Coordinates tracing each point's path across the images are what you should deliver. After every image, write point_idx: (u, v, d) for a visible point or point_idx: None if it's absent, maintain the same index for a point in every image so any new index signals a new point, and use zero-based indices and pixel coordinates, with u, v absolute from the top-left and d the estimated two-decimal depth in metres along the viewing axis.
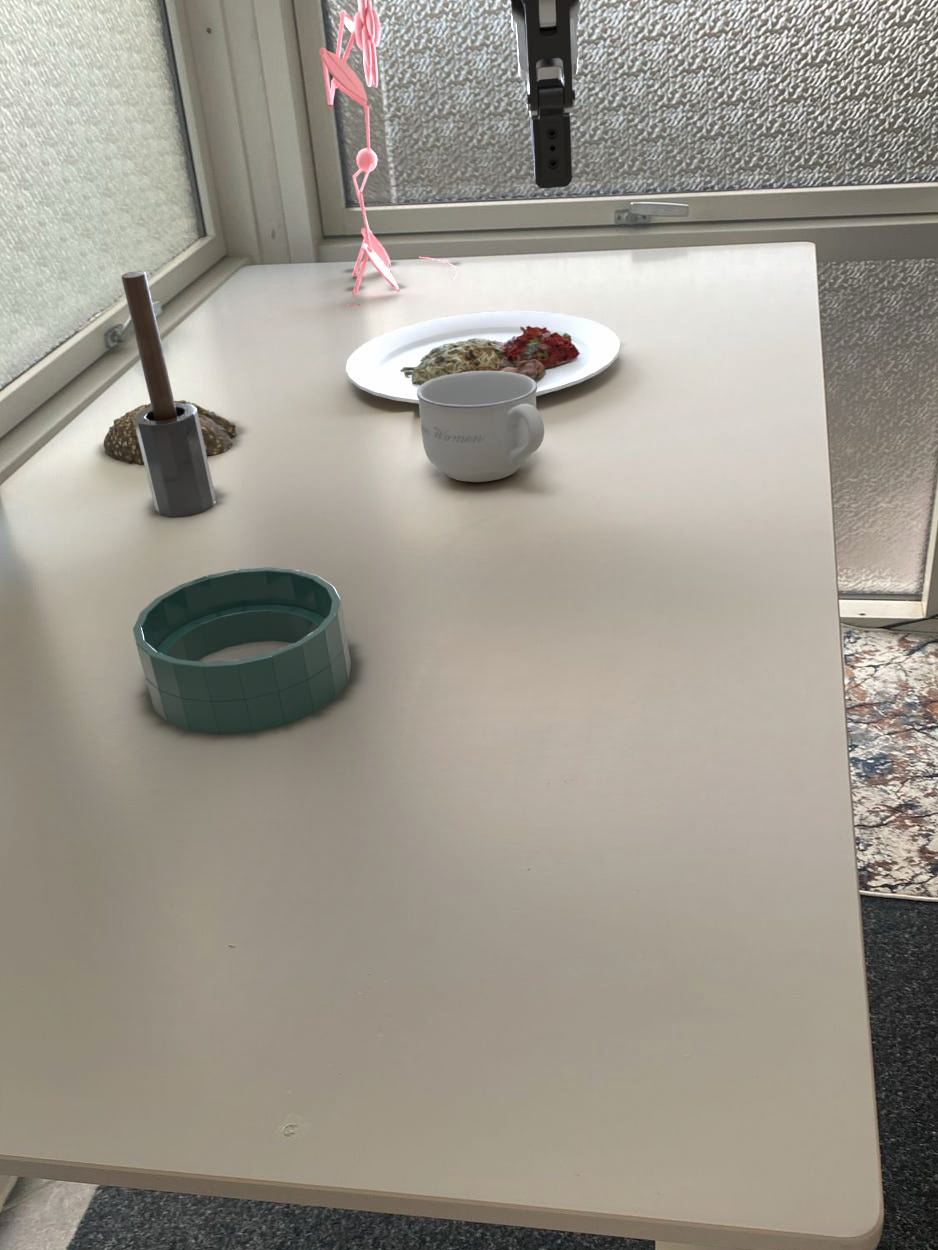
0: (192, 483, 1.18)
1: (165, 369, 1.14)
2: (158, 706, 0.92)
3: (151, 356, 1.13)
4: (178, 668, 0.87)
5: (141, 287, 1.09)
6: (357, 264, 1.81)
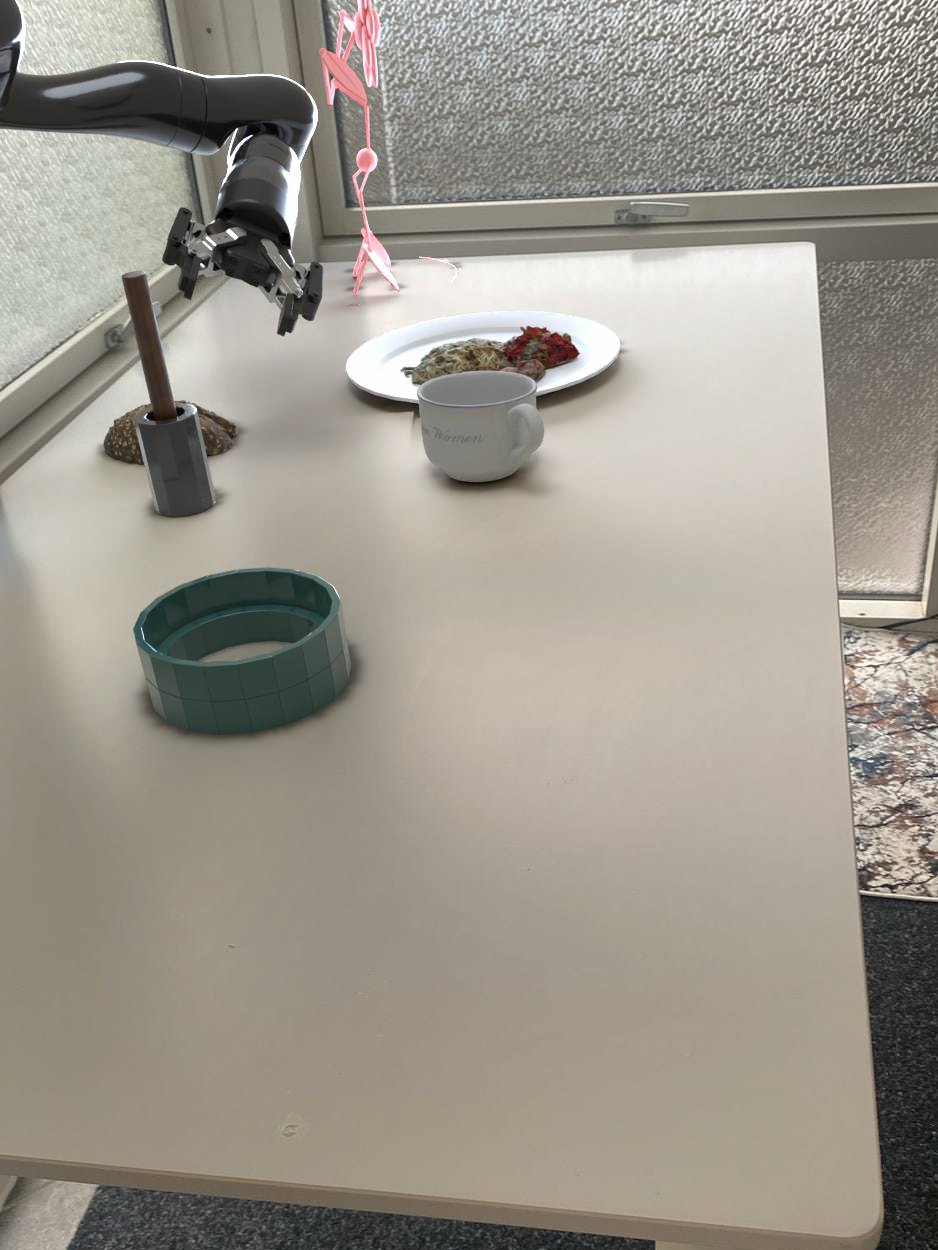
0: (192, 483, 1.18)
1: (165, 369, 1.14)
2: (158, 706, 0.92)
3: (151, 356, 1.13)
4: (178, 668, 0.87)
5: (141, 287, 1.09)
6: (357, 264, 1.81)
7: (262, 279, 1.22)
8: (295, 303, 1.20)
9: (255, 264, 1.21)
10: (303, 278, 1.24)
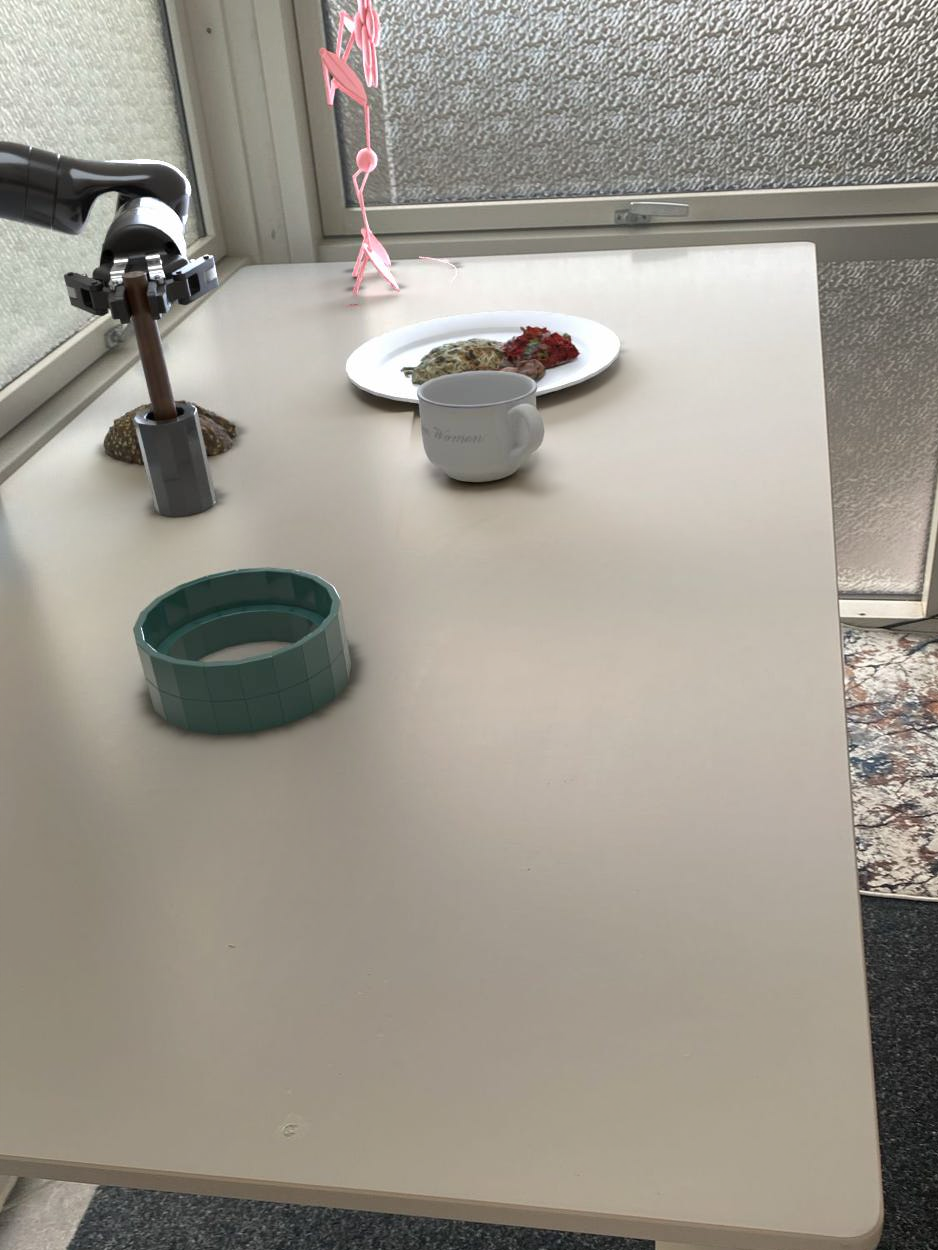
0: (192, 483, 1.18)
1: (165, 369, 1.14)
2: (158, 706, 0.92)
3: (152, 356, 1.13)
4: (178, 668, 0.87)
5: (141, 287, 1.09)
6: (357, 264, 1.81)
7: None
8: (160, 287, 1.11)
9: (146, 272, 1.14)
10: None
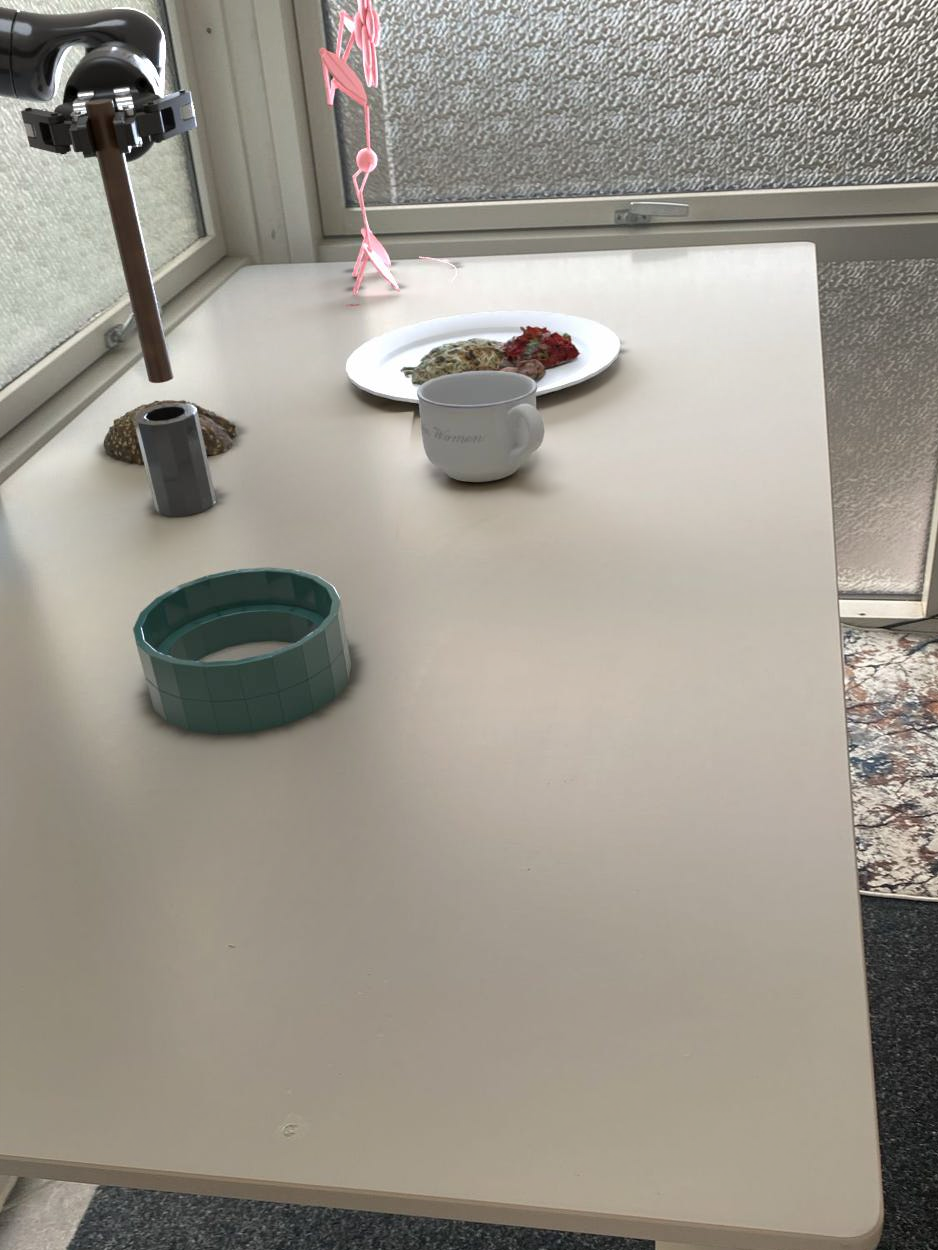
0: (192, 483, 1.18)
1: (136, 216, 1.01)
2: (158, 706, 0.92)
3: (120, 199, 0.99)
4: (178, 668, 0.87)
5: (107, 115, 0.96)
6: (357, 264, 1.81)
7: None
8: (129, 118, 0.97)
9: (114, 106, 1.00)
10: None
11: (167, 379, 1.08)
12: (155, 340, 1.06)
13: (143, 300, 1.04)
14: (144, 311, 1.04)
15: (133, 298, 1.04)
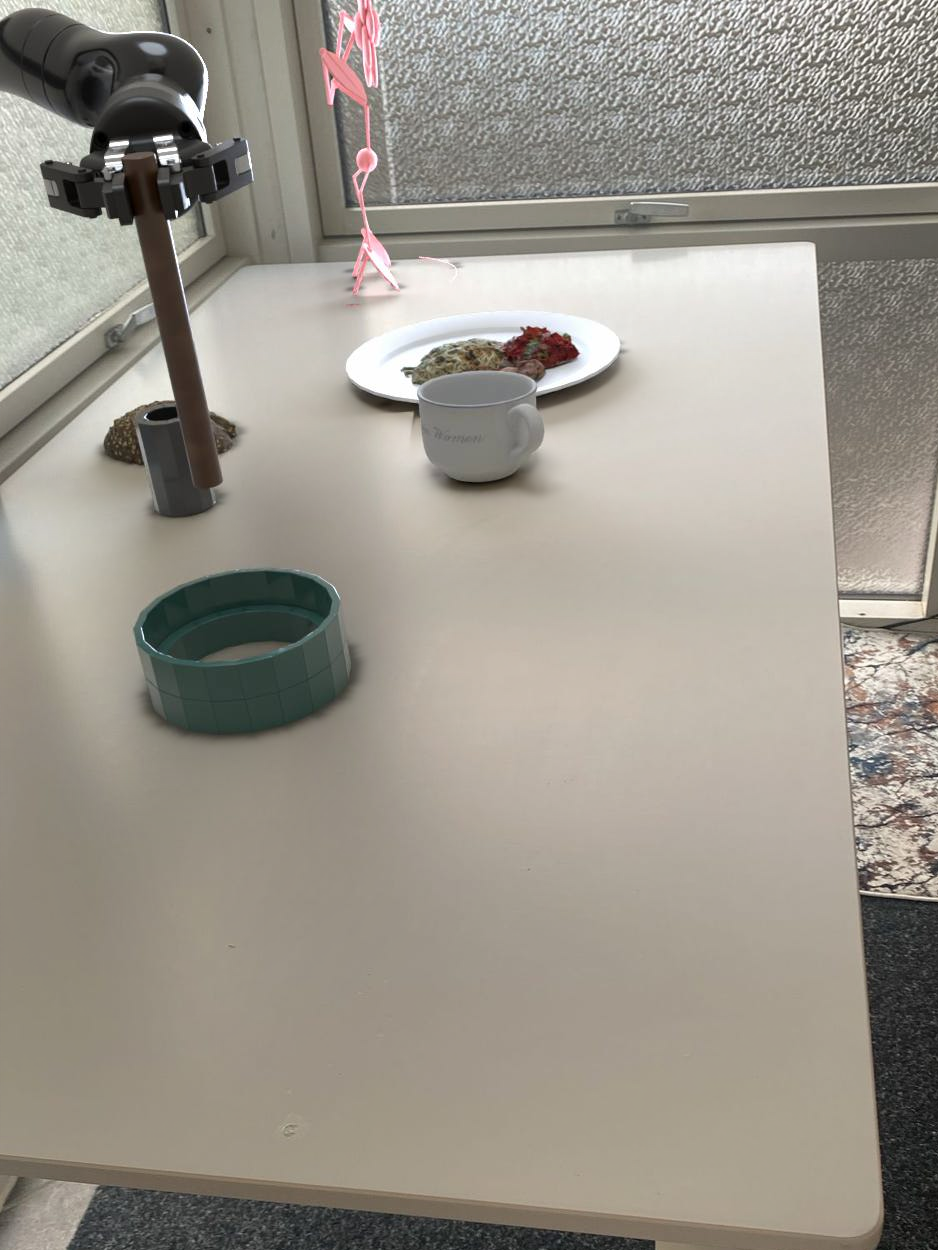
0: (192, 483, 1.18)
1: (182, 293, 0.82)
2: (158, 706, 0.92)
3: (163, 274, 0.81)
4: (178, 668, 0.87)
5: (148, 173, 0.78)
6: (357, 264, 1.81)
7: None
8: (175, 175, 0.79)
9: None
10: None
11: (216, 484, 0.89)
12: (202, 440, 0.87)
13: (189, 392, 0.85)
14: (190, 406, 0.86)
15: (177, 390, 0.85)
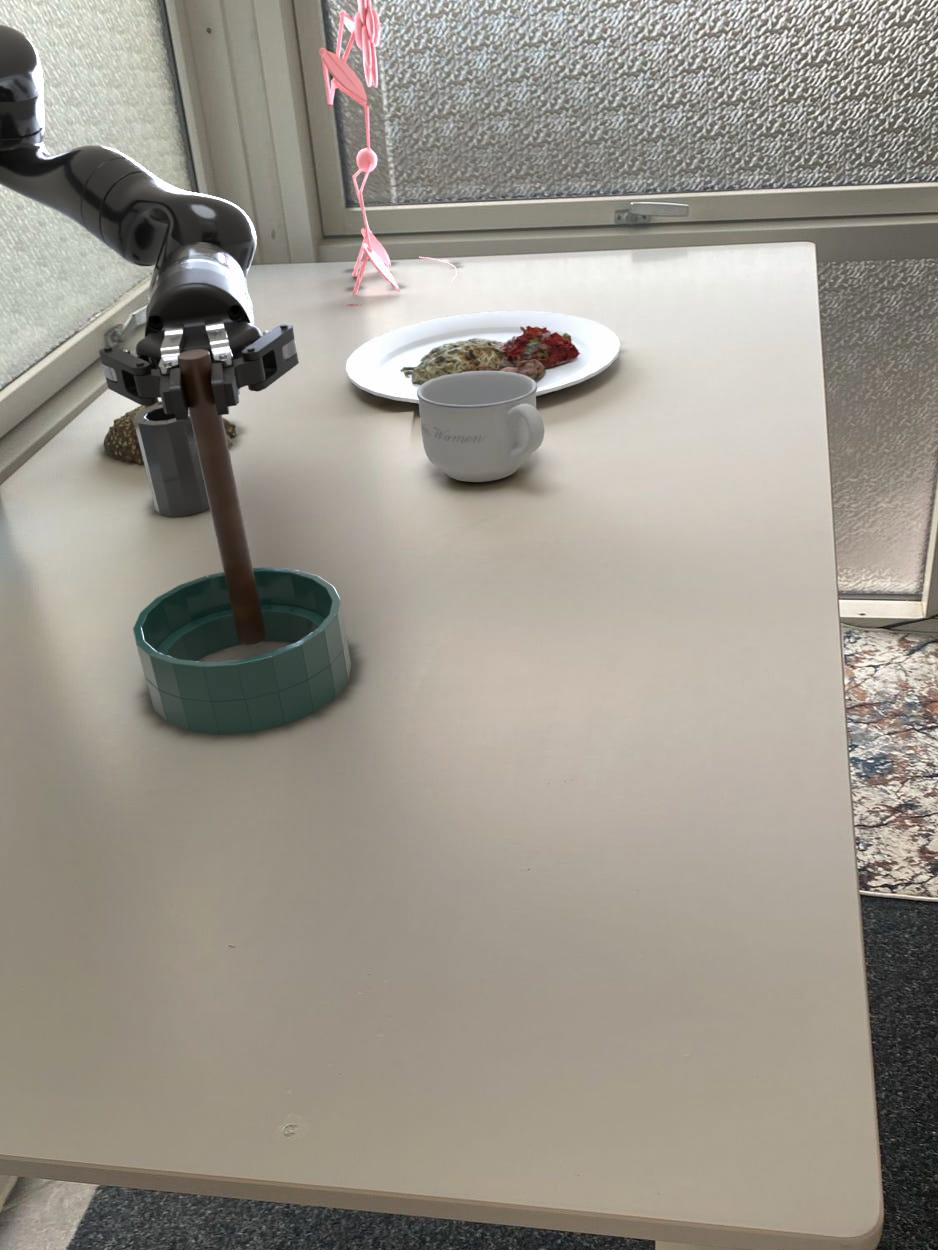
0: (192, 483, 1.18)
1: (231, 474, 0.88)
2: (158, 706, 0.92)
3: (214, 458, 0.86)
4: (178, 668, 0.87)
5: (203, 371, 0.83)
6: (357, 264, 1.81)
7: None
8: (227, 370, 0.84)
9: (207, 348, 0.87)
10: None
11: (260, 640, 0.95)
12: (248, 602, 0.93)
13: (236, 561, 0.91)
14: (237, 573, 0.91)
15: (225, 558, 0.91)
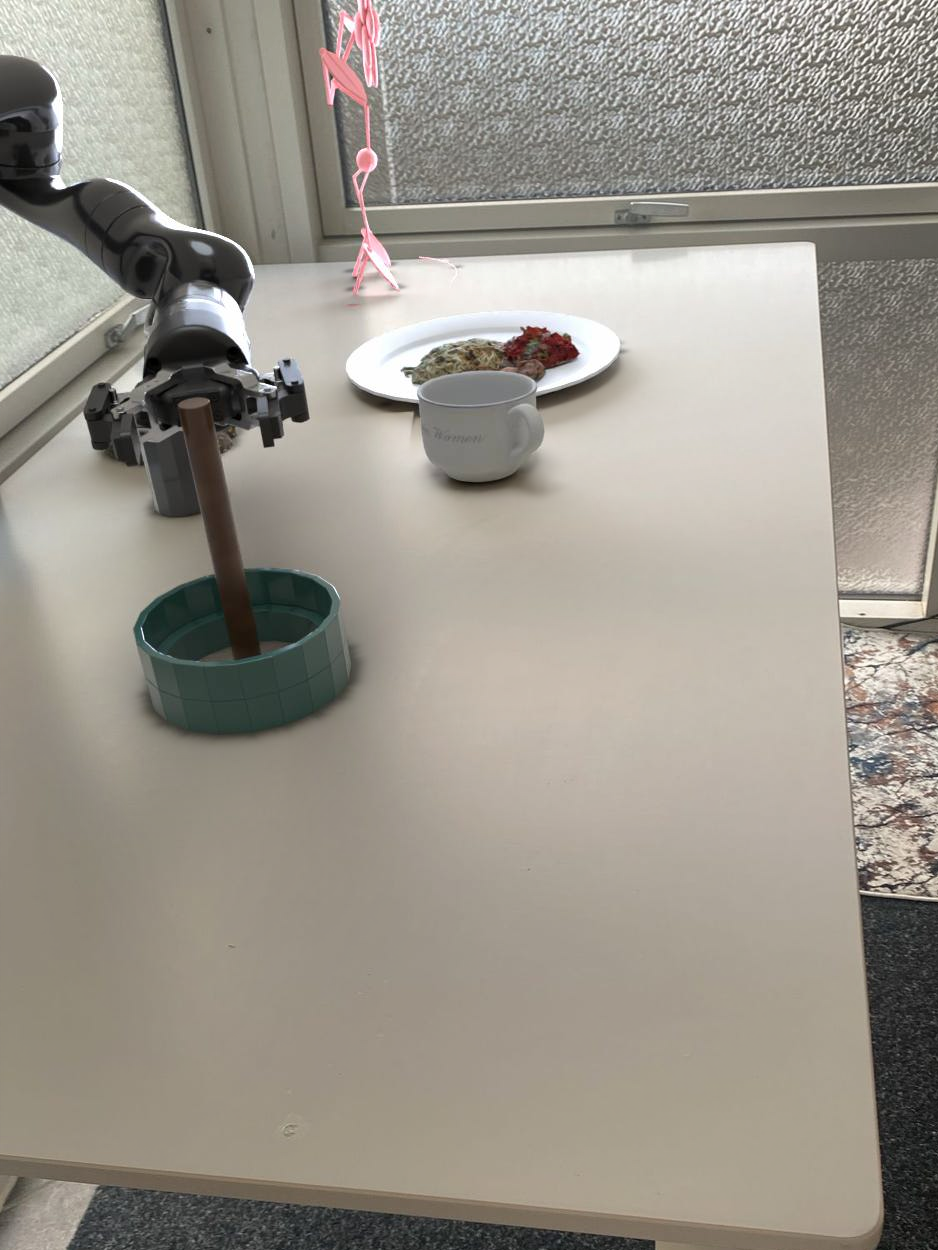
0: (192, 483, 1.18)
1: (232, 520, 0.88)
2: (158, 706, 0.92)
3: (215, 505, 0.86)
4: (178, 668, 0.87)
5: (203, 420, 0.83)
6: (357, 264, 1.81)
7: (224, 406, 0.88)
8: (271, 403, 0.85)
9: (206, 391, 0.87)
10: (275, 381, 0.89)
11: None
12: (248, 646, 0.93)
13: (237, 605, 0.91)
14: (238, 617, 0.91)
15: (225, 603, 0.91)
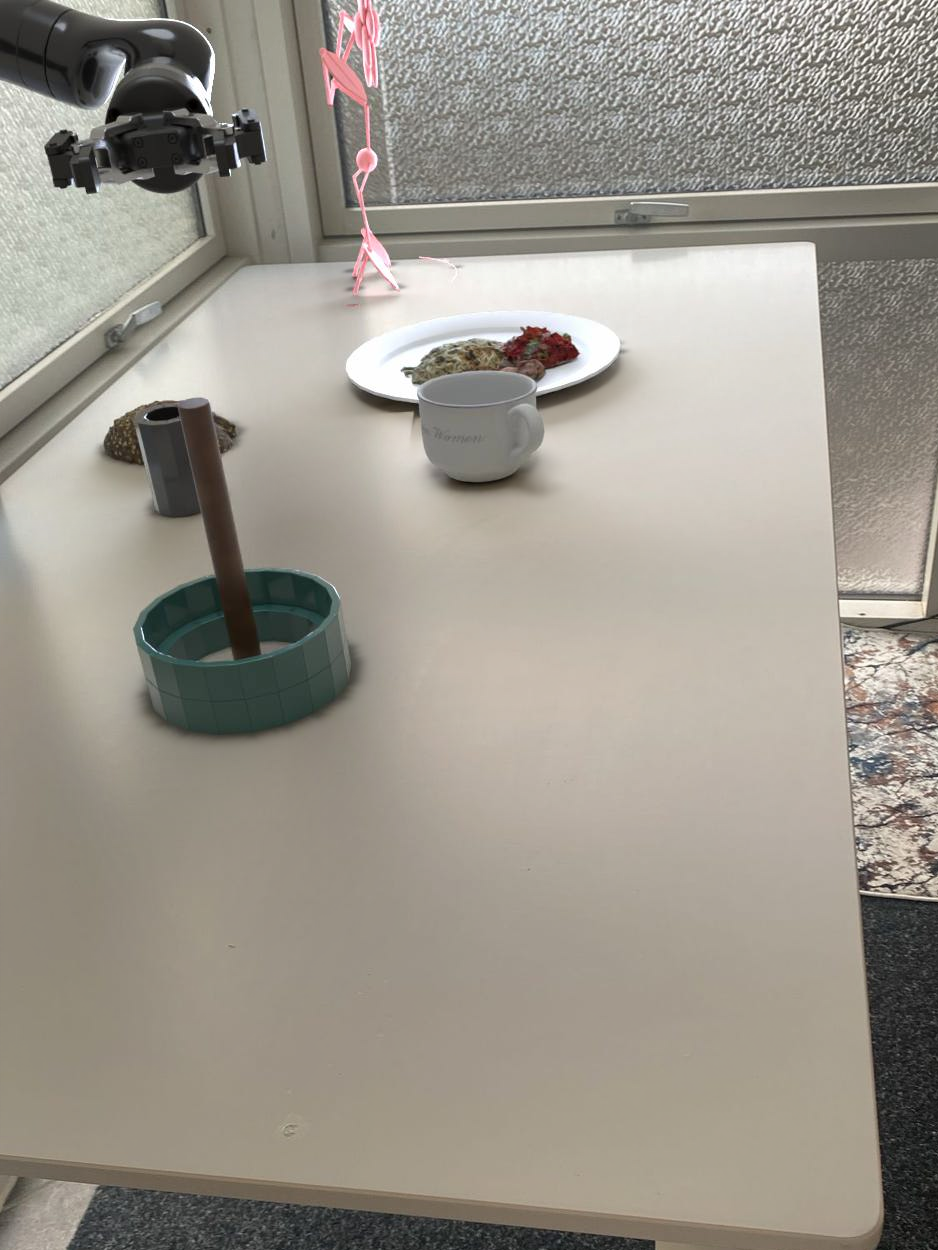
0: (192, 483, 1.18)
1: (232, 520, 0.88)
2: (158, 706, 0.92)
3: (215, 505, 0.86)
4: (178, 668, 0.87)
5: (203, 420, 0.83)
6: (357, 264, 1.81)
7: (183, 148, 0.90)
8: (228, 137, 0.87)
9: (165, 132, 0.89)
10: (233, 128, 0.91)
11: None
12: (248, 646, 0.93)
13: (237, 605, 0.91)
14: (238, 617, 0.91)
15: (225, 603, 0.91)
